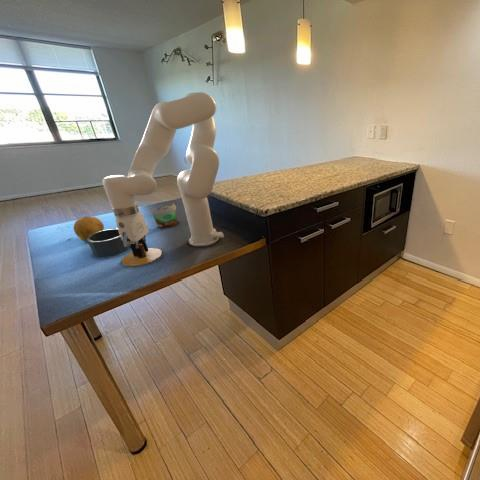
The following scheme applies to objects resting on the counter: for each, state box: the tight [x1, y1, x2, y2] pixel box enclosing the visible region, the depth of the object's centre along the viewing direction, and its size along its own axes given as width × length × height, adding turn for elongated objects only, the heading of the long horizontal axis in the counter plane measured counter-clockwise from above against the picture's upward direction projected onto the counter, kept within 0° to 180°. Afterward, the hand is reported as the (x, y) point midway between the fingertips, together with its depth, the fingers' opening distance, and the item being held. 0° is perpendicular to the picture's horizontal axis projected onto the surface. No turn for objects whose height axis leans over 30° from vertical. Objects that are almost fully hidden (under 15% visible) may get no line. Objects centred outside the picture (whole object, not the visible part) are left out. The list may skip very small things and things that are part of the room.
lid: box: [121, 242, 163, 268], centre depth 103 cm, size 14×14×7 cm
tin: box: [86, 227, 130, 258], centre depth 108 cm, size 13×13×8 cm
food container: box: [150, 202, 178, 229], centre depth 131 cm, size 12×6×10 cm, turn 148°
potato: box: [73, 216, 105, 242], centre depth 118 cm, size 10×12×10 cm
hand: (141, 253), depth 103 cm, fingers closed on lid, 3 cm apart
